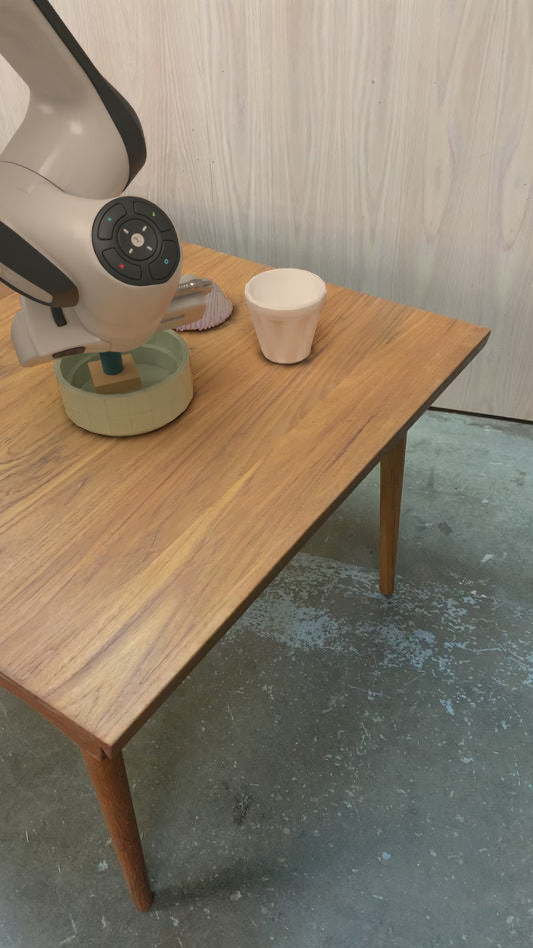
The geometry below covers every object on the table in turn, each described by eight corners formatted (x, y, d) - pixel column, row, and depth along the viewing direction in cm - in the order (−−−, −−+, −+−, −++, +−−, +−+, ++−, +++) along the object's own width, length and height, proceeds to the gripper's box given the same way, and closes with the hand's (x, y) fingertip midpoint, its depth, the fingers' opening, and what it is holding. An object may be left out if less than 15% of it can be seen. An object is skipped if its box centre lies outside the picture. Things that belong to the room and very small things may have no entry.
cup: (277, 323, 105) (275, 260, 99) (340, 345, 101) (342, 280, 94) (232, 358, 99) (227, 293, 93) (297, 384, 95) (296, 317, 89)
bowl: (77, 454, 86) (66, 411, 82) (55, 379, 97) (44, 338, 93) (210, 420, 90) (205, 378, 86) (174, 352, 101) (169, 311, 97)
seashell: (245, 279, 108) (214, 299, 100) (243, 317, 111) (212, 339, 103) (179, 266, 111) (144, 285, 103) (178, 303, 114) (144, 324, 106)
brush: (101, 415, 90) (77, 308, 81) (93, 390, 94) (69, 285, 85) (145, 404, 91) (126, 298, 82) (135, 380, 95) (116, 276, 86)
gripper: (207, 247, 78) (182, 292, 91) (2, 297, 72) (7, 337, 85) (227, 307, 78) (200, 343, 91) (24, 362, 72) (26, 392, 85)
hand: (106, 340), depth 88 cm, fingers closed on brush, 2 cm apart
